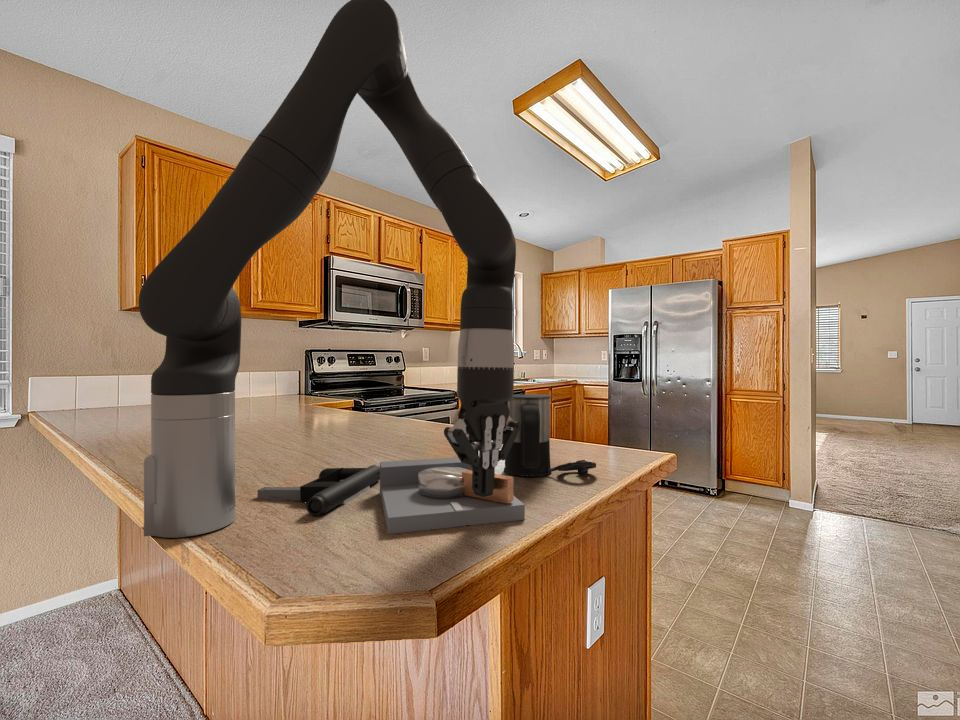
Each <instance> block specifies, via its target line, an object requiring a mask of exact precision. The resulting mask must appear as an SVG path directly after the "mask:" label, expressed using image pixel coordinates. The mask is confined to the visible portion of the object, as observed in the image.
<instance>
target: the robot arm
mask: <svg viewBox="0 0 960 720" xmlns="http://www.w3.org/2000/svg"><path fill="white" fill-rule="evenodd" d="M408 69H409V68H408V58H407V53H406V49H405V42H404V37H403V32H402V29H401V25H400V23H399V20H398V17H397V15H396V12H395V10H394V9H393V7H392V6H391V5H390V4H389V3H388V1H386V0H349V1H347V2H346V3H345V4H344V5H343V6H341V7H340V8H339V9H338V11H337V12H336V13H335V15H334V16H333V17H332V19H331V20H330V22H329V24H328V26H327V27H326V29H325V31H324V33H323V35H322V37H321V38H320V40H319V42H318V44H317V46H316V48H315V50H313V53H312V55H311V57H310V58H309V61H308V62H307V64H306V66H305V68H304V69H303V71H302V73H301V75H300V76H299V77H298V79H297V80H296V82H295V83H294V85H293V86H292V87H291V89H290V90H289V92H288V93H287V94H286V96H285V98H284V99H283V101H282V102H281V104H280V105H279V107H278V109H277V110H276V111H275V113H274V114H273V115H272V117H271V118H270V120H269V121H268V122H267V124H265V126H264V127H263V128H262V130H261V131H260V132H259V133H258V135H257V136H256V138H255V139H254V141H252V143H251V145H250V146H249V147H248V149H247V150H246V152H245V153H244V155H243V156H242V157H241V158H240V160H239V162H238V164H237V165H236V167H235V168H234V170H233V171H232V173H231V174H230V175H229V176H228V178H227V179H226V181H225V182H224V184H223V185H222V186H221V188H220V189H219V190H218V192H217V193H216V194H215V196H214V198H213V199H212V200H211V202H210V203H209V204H208V206H207V208H206V209H205V211H204V212H203V214H201V216H200V217H199V218H198V220H197V221H196V222H195V223H194V225H193V226H192V227H191V228H190V230H188V232H187V233H186V234H185V235H184V236H183V237H182V238H181V239H180V240H179V242H177V244H176V245H175V246H174V247H173V248H172V249H171V250H170V251H169V252H168V253H167V254H166V255H165V256H164V258H162V260H161V261H160V262H159V263H158V264H156V266H155V267H154V268H153V270H152V271H151V272H150V274H149V275H148V276H147V277H146V279H145V280H144V282H143V284H142V286H141V288H140V291H139V296H138V310H139V314H140V317H141V318H142V320H143V322H144V323H145V325H146V326H148V328H149V329H151V330H152V331H154V332H156V333H157V334H159V335H162V336H164V337H165V351H164V356H163V357H164V358H163V360H162V361H161V363H160V365H159V366H158V367H157V368H156V369H154V371H153V372H152V374H151V376H150V393H151V394H150V407H151V408H150V428H151V429H150V436H151V437H150V455H148V456H146V457H145V458H144V460H143V537H159V538H167V539H168V538H169V539H170V538H172V539H173V538H175V539H176V538H187V537H193V536H199V535H203V534H207V533H211V532H214V531H217V530H220V529H222V528H225V527H227V526H228V525H231V524H232V523H233V522H234V521H235V519H236V379H237V376H238V375H237V374H238V372H239V369H240V363H241V350H242V349H241V347H242V344H241V343H242V307H241V302H240V299H239V296H238V294H237V292H236V290H235V289H234V288H233V286H234V285H235V283H236V282H237V280H238V278H239V276H240V275H241V273H242V272H243V270H244V269H245V267H246V265H247V264H248V263H249V262H250V260H251V258H252V257H254V255H255V254H256V253H257V252H258V251H259V250H261V248H262V247H263V246H264V245H266V244H267V243H268V242H269V241H270V240H272V239H273V238H275V237H276V236H277V235H279V234H280V233H281V232H283V231H284V230H285V229H287V228H288V227H289V226H290V225H292V223H294V222H295V221H296V220H297V219H298V218H299V217H300V216H301V215H302V213H303V212H304V211H305V210H306V209H307V207H308V206H309V204H310V203H311V202H312V200H313V199H314V198H315V196H316V195H317V193H318V192H319V190H320V189H321V188H322V186H323V185H324V183H325V181H326V179H327V178H328V175H329V173H330V171H331V168H332V166H333V163H334V161H335V157H336V154H337V150H338V145H339V142H340V136H341V133H342V129H343V126H344V123H345V118H346V116H347V114H348V111H349V109H350V106H351V104H352V102H353V101H354V99H355V97H356V95H358V96H359V97H360V98H361V99H362V100H363V102H364V103H365V104H366V105H367V107H369V108H370V109H371V111H373V113H374V114H375V115H376V116H377V117H378V119H380V121H381V122H382V123H383V125H384V126H385V128H386V129H387V130H388V132H389V133H390V135H392V136H393V138H394V140H395V141H396V143H397V144H398V145H399V148H400V149H401V151H402V152H403V154H404V156H405V158H406V159H407V161H408V163H409V164H410V166H411V168H412V170H413V171H414V173H415V175H416V177H417V178H418V180H419V181H420V183H421V185H422V187H423V188H424V190H425V192H426V194H427V195H428V196H429V198H430V199H431V201H432V202H433V204H434V206H435V207H436V208H437V210H438V211H439V212H440V213H441V215H442V216H443V220H444V221H445V223H446V224H447V227H448V229H449V231H450V232H451V234H452V237H453V238H454V240H455V242H456V243H457V245H458V247H459V248H460V250H461V252H462V253H463V254H464V256H465V257H466V261H467V262H466V263H467V264H466V265H467V269H466V271H467V272H466V287H465V289H464V290H463V292H462V294H461V299H460V300H461V301H460V314H459V316H460V317H459V318H460V320H459V321H460V322H459V338H458V343H457V344H458V345H457V371H456V372H457V375H456V377H457V380H456V381H457V383H456V396H457V399H459V401H460V407H459V410H458V412H457V419H458V420H457V421H456V422H455V423H454V424H453V425H452V426H451V427H450V426H446V427H445V428H444V429H443V435H444V437H445V438H446V440H447V442H448V443H449V445H450V446H451V448H452V449H453V451H454V453H455V454H456V457H458V458H459V459H460V461H461V462H462V463H465V464H469V465H471V466H472V489H473V491H474V494H475V495H478V496H481V497H486V496H489V495H492V494H493V489H494V478H495V474H496V473H495V471H496V470H495V469H496V468H495V467H497V466H498V463H499V462H500V461H505V459H506V457H507V455H508V453H509V451H510V449H511V447H512V445H513V442H514V440H515V438H516V436H517V434H518V432H519V430H520V428H521V424H520V423H519V422H515V421H513V420H512V419H511V418H510V416H509V415H510V410H509V407H508V401H510V400H512V399H513V394H514V385H515V383H514V382H515V380H514V379H515V376H514V375H515V342H514V336H513V335H514V334H513V332H514V331H513V327H514V326H513V323H514V321H513V319H514V317H513V316H514V302H513V289H514V283H515V282H514V281H515V271H516V258H517V242H516V237H515V235H514V232H513V229H512V226H511V223H510V221H509V220H508V218H507V216H506V214H505V213H504V211H503V209H502V208H501V207H500V205H499V204H498V203H497V201H496V200H495V198H493V196H492V195H491V194H490V192H489V191H488V190H487V189H486V187H485V186H484V184H483V183H482V182H481V180H480V177H479V175H478V173H477V171H476V170H475V169H474V166H473V165H472V163H471V162H470V160H469V159H468V157H467V155H466V154H465V152H464V151H463V149H462V148H461V145H459V143H458V141H457V140H456V139H455V138H454V136H453V135H452V134H451V133H450V132H449V131H448V129H447V128H445V126H443V125H442V124H441V123H439V122H438V121H437V120H436V119H435V117H433V116H432V115H431V114H430V113H429V111H428V110H427V108H425V106H424V104H423V103H422V100H421V98H420V97H419V94H418V92H417V91H416V88H415V86H414V83H413V81H412V77H411V76H410V73H409V70H408Z"/></svg>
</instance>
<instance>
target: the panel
mask: <svg viewBox="0 0 960 720" xmlns="http://www.w3.org/2000/svg"><path fill="white" fill-rule="evenodd" d="M436 467H459V468H465V469H468V470H472V466H471V465H469V464H465V463H462V462H461V461H460V459H459V458H458V456H454V457H439V458H438V457H436V458H423V459H405V460H391V461H389V460H387V461H379V468H380V480H379V497H380V500H381V506H382V505H383V506H382V510H384V511H383V514H385V515H384V519H385V524H386V529H387V534H388V535H390V534H401V533H403V534H404V533H411V532H421V531H430V530H431V529H432V530H438V529H440V530H441V529H450V528H459V526H460V527H467V526H466V525H470V526H476V525H487V524H496V523H497V524H498V523H506V522H515V521H524V520H525V517H526V515H525V514H526V513H525V512H526V511H525V509H526V507H525V506H526V505H525V504H524V503H523V502H522V501H521V500H520V499H518V498H517V497H516V496H515V495H514V494H513V501H512V502H510V503H508V504H507V503H502V502H497V501H492V500H487V499H482V498H476V497H471V496H466V495H463V496H458V497H449V498H437V497H429V496H425V495H422V494H420V493H419V492H418V473H419V472H420V471H422V470H425V469H429V468H436ZM420 530H421V531H420ZM432 530H431V531H432Z"/></svg>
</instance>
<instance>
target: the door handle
mask: <svg viewBox="0 0 960 720" xmlns="http://www.w3.org/2000/svg"><path fill="white" fill-rule="evenodd" d="M377 482H380V466H378V465H375V464H374V465H370V466H368V467H329V468H324V469H322V470H321V471H320V472H319V475H318V478H316V479H314V480H312V481H310V482H307V483H306V484H303V485H301V486H287V487H286V486H264V487H262V488H259V489H257V499H260V500H262V499H263V500H276V501H277V500H278V501H288V502H289V500H290V501H292V502H293V501H296V502H297V501H298V502H299V501H300V503H301V502H302V503H301V504H306V510H307V512H308V514H309V515H311V516H313V517H314V516H316V517H317V516H322V515H324V514H327V513H328V512H330V511H331V510H333V509H334V508H337V507H338V506H340V505H347V504H348V503H349V501H350V500H351V501H352V499H353V498H354V499H356V498H358V497H359V496H361V495H362V494H363V492H364V493H365V492H367V491H369V490H370V489H371V488H370V487H371V486H372V485H374V484H375V483H377ZM368 489H369V490H368ZM360 494H361V495H360ZM355 497H356V498H355ZM354 499H353V500H354ZM351 501H350V502H351ZM305 502H306V503H305ZM347 502H348V503H347ZM346 503H347V504H346ZM321 514H322V515H321Z"/></svg>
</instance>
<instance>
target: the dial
mask: <svg viewBox="0 0 960 720" xmlns="http://www.w3.org/2000/svg"><path fill="white" fill-rule="evenodd" d="M418 492H419V493H420V494H422V495H425V496H429V497H437V498H449V497H458V496H463V495H466V496H471V497H476V498H482V499H487V500H492V501H497V502H502V503H507V504H508V503H510V502H512V501H513V495H514V476H511V475H510V476H509V475H503V474H496V473H495V478H494V489H493V494H492V495H489V496H486V497H481V496H478V495H475V494H474V491H473V489H472V470H468V469H465V468H459V467H436V468H429V469H425V470H422V471H420V472H419V473H418Z"/></svg>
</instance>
